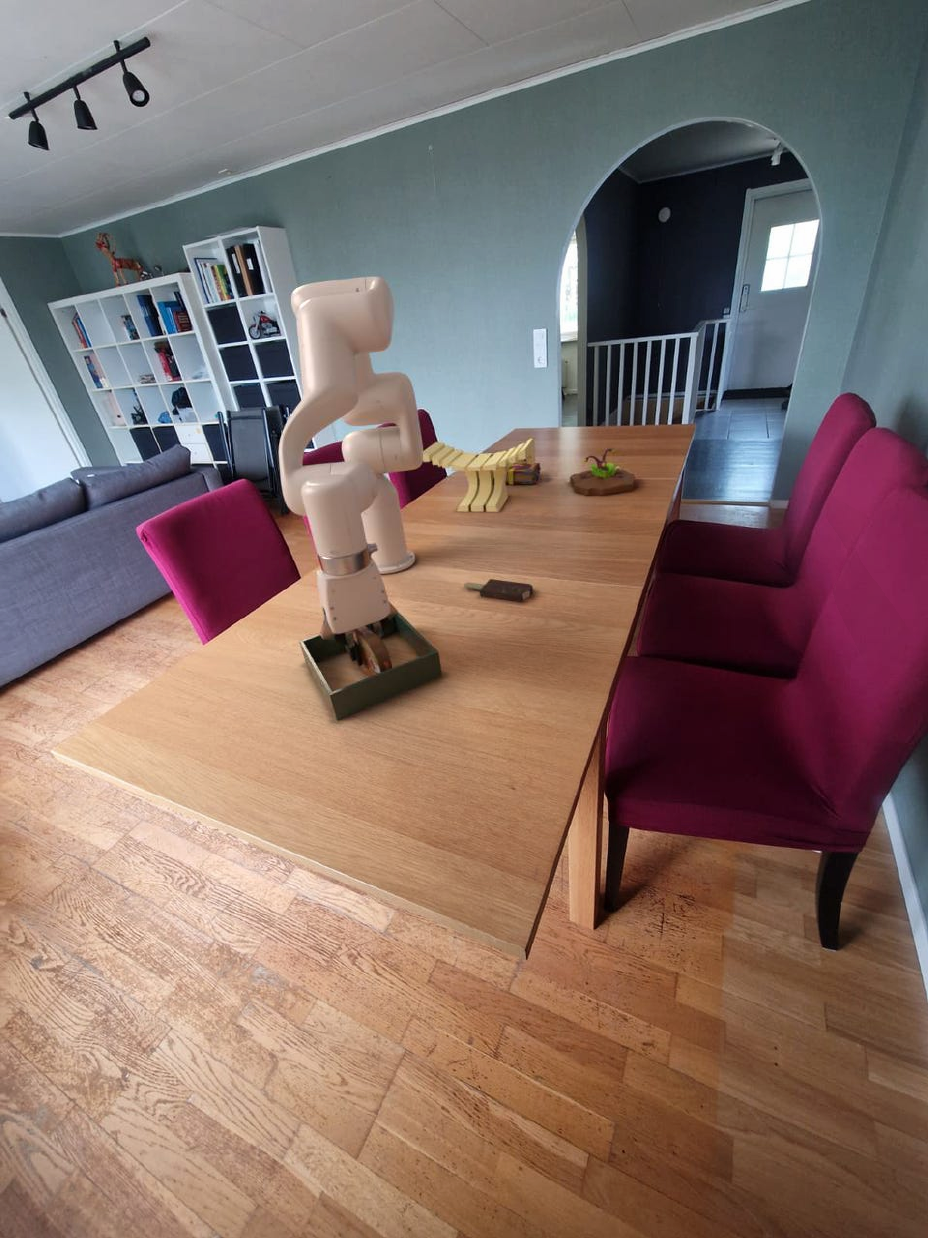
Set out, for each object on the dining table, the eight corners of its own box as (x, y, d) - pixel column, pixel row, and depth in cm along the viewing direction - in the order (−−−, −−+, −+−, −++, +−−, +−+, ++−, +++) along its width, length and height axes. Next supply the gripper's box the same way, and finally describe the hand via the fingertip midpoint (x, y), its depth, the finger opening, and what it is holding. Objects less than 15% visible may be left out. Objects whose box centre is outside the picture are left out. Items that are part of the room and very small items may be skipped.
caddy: (306, 664, 92) (299, 641, 89) (398, 630, 99) (394, 607, 96) (337, 720, 78) (329, 695, 75) (442, 676, 85) (438, 651, 82)
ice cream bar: (459, 593, 109) (525, 603, 103) (458, 586, 108) (525, 596, 102) (470, 582, 113) (534, 591, 107) (469, 575, 112) (534, 584, 106)
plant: (643, 492, 153) (647, 453, 147) (577, 497, 154) (578, 460, 148) (626, 473, 170) (628, 438, 164) (567, 479, 171) (567, 444, 165)
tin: (346, 655, 93) (333, 616, 88) (361, 647, 94) (349, 609, 90) (384, 694, 82) (372, 653, 78) (401, 685, 83) (390, 644, 79)
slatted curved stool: (536, 494, 161) (534, 435, 152) (527, 511, 148) (524, 448, 139) (446, 494, 170) (439, 439, 160) (430, 511, 157) (422, 452, 148)
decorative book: (499, 475, 183) (498, 460, 181) (543, 475, 178) (543, 460, 175) (490, 484, 174) (488, 469, 172) (536, 485, 169) (536, 469, 166)
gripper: (385, 537, 83) (403, 632, 93) (285, 566, 77) (315, 665, 87) (403, 551, 78) (420, 651, 87) (297, 584, 71) (328, 687, 81)
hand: (368, 657), depth 87 cm, fingers closed on tin, 3 cm apart
